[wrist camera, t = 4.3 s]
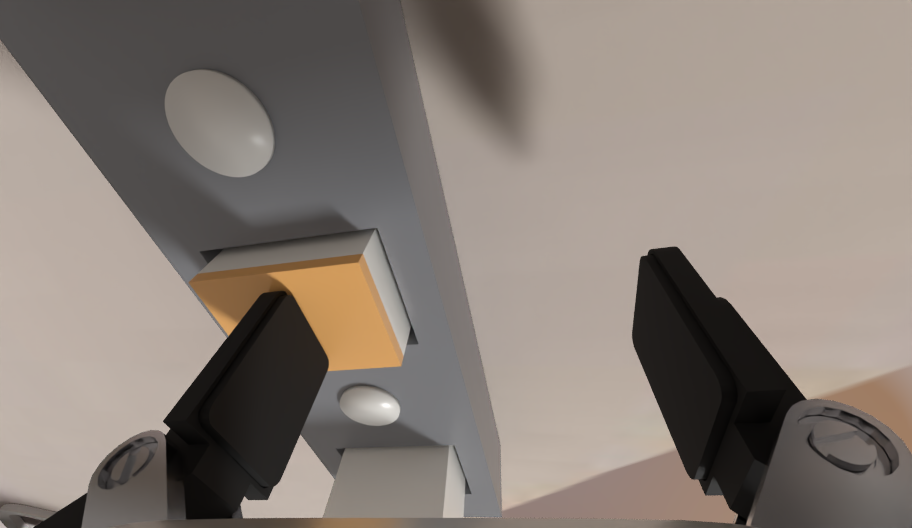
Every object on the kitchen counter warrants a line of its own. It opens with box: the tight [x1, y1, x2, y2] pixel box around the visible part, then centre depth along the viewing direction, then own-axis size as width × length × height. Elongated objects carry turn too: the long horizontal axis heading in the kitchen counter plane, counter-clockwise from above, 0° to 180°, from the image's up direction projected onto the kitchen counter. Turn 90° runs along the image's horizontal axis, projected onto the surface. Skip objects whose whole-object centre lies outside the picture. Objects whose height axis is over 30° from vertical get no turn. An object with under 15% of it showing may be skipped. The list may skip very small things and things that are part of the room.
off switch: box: [323, 445, 466, 518], centre depth 17 cm, size 5×4×4 cm
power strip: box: [0, 0, 502, 517], centre depth 13 cm, size 8×32×4 cm, turn 11°
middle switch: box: [188, 228, 411, 371], centre depth 13 cm, size 5×4×4 cm
